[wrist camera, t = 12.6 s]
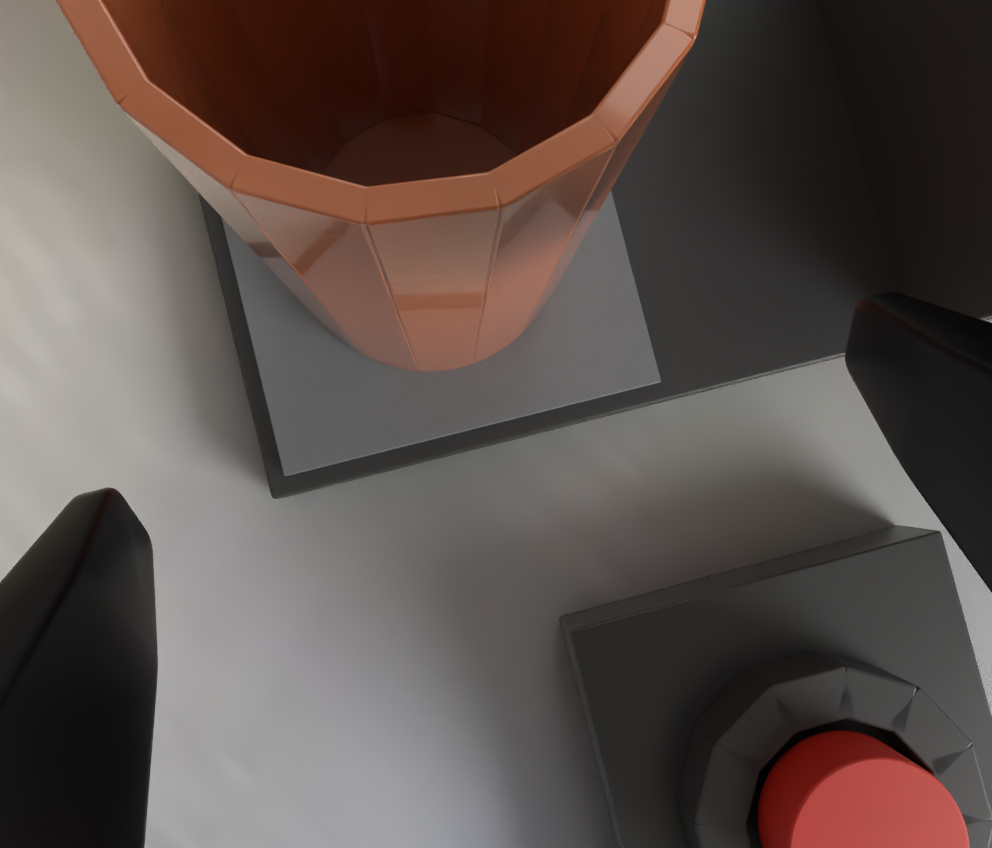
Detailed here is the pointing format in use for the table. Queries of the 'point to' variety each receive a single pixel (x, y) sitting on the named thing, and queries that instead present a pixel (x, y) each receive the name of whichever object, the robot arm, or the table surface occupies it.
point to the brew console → (779, 684)
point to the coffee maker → (683, 244)
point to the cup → (398, 143)
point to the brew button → (855, 798)
